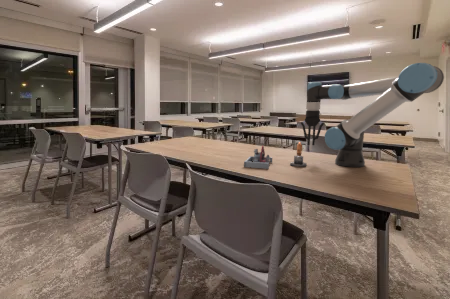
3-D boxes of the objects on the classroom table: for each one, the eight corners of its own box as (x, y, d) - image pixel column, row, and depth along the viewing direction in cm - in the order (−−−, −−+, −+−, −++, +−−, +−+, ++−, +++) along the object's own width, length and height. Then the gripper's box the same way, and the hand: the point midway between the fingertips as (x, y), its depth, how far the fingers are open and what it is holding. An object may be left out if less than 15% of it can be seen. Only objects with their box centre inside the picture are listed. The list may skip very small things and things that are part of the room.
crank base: (306, 163, 147) (306, 161, 147) (306, 167, 138) (306, 165, 138) (290, 162, 150) (290, 160, 149) (289, 166, 141) (289, 164, 141)
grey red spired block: (272, 163, 138) (259, 145, 139) (256, 173, 142) (244, 156, 143) (275, 159, 149) (263, 142, 150) (260, 168, 153) (249, 152, 154)
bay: (272, 162, 151) (272, 157, 150) (268, 168, 136) (268, 163, 135) (250, 160, 155) (250, 156, 154) (244, 167, 140) (244, 161, 139)
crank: (302, 164, 141) (303, 145, 139) (293, 163, 142) (294, 145, 140) (303, 159, 153) (304, 142, 151) (294, 159, 154) (295, 142, 152)
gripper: (324, 110, 146) (322, 150, 151) (301, 109, 150) (299, 148, 154) (325, 110, 139) (322, 152, 143) (301, 110, 143) (298, 151, 147)
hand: (310, 150), depth 149 cm, fingers closed
